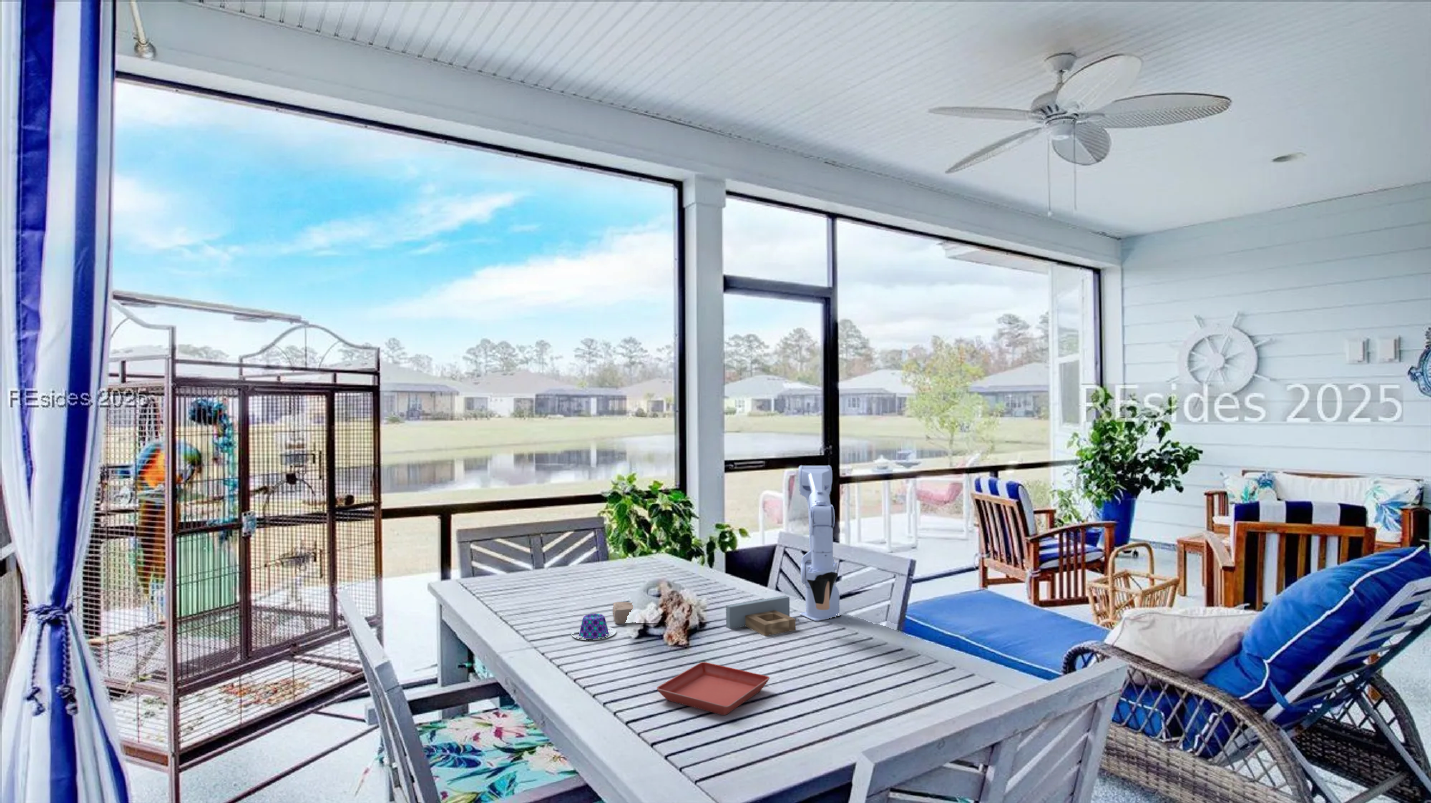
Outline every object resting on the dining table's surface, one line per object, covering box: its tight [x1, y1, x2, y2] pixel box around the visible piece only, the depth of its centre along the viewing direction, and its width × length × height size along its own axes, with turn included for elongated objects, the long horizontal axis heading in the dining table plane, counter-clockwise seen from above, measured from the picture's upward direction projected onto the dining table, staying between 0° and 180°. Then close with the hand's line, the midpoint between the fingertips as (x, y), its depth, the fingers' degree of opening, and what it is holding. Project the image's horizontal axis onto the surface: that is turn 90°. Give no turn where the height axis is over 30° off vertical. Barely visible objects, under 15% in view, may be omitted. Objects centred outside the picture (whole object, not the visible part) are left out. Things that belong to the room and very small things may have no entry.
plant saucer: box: [656, 661, 770, 716], centre depth 158 cm, size 18×18×3 cm
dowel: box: [816, 581, 830, 610], centre depth 198 cm, size 4×4×7 cm
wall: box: [725, 595, 791, 630], centre depth 209 cm, size 20×2×6 cm, turn 119°
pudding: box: [571, 613, 617, 641], centre depth 200 cm, size 12×12×5 cm
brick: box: [612, 601, 633, 625], centre depth 214 cm, size 17×8×5 cm, turn 102°
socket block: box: [744, 610, 797, 637], centre depth 204 cm, size 10×10×3 cm
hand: (822, 601), depth 198 cm, fingers closed on dowel, 4 cm apart
